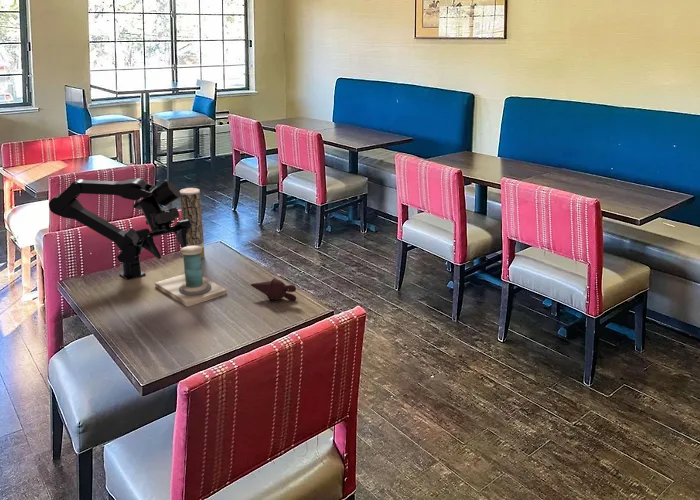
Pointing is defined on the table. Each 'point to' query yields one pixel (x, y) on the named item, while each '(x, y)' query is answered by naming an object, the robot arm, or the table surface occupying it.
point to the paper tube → (192, 216)
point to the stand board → (188, 299)
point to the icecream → (276, 289)
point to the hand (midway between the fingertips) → (173, 254)
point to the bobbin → (193, 269)
